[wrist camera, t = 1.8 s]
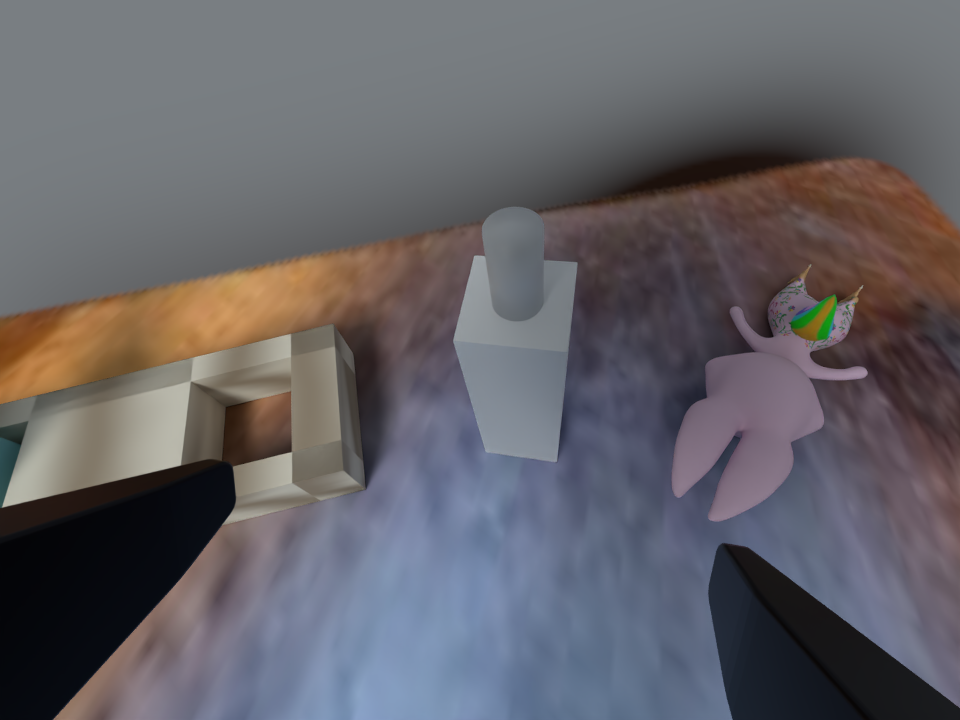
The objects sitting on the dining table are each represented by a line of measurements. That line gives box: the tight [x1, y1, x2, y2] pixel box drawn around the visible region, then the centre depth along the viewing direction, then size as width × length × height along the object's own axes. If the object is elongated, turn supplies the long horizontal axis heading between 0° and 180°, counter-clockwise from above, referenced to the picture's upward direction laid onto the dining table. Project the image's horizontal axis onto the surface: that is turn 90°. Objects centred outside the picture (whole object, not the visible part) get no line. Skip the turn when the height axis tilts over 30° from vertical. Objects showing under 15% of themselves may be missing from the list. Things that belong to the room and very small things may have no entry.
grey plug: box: [453, 207, 578, 462], centre depth 18 cm, size 3×3×13 cm
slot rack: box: [0, 324, 366, 525], centre depth 23 cm, size 22×8×3 cm, turn 102°
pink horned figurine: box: [671, 264, 868, 522], centre depth 20 cm, size 6×6×15 cm
